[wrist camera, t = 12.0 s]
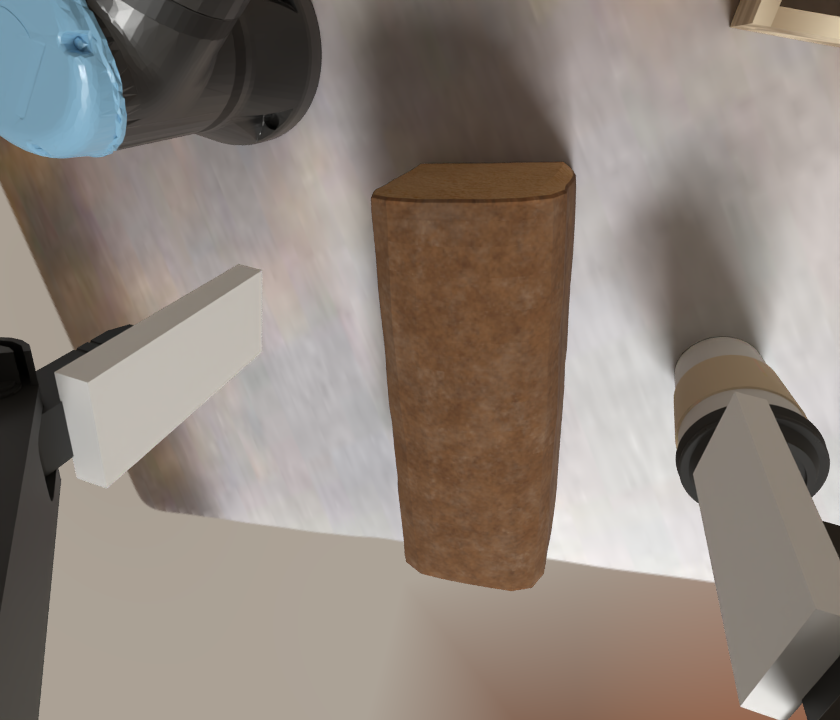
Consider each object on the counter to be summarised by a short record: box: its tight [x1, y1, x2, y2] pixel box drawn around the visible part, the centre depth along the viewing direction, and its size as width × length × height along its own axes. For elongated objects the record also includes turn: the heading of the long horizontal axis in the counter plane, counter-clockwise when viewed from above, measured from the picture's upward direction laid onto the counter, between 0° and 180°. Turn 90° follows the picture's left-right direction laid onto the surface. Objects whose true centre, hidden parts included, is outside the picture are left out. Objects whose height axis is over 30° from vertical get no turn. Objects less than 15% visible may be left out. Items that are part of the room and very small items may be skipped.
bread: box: [371, 162, 576, 591], centre depth 49 cm, size 14×34×14 cm, turn 4°
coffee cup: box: [674, 337, 830, 503], centre depth 43 cm, size 9×9×15 cm
